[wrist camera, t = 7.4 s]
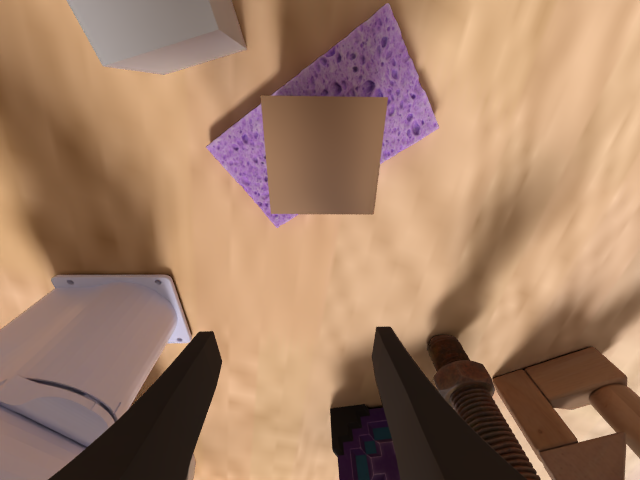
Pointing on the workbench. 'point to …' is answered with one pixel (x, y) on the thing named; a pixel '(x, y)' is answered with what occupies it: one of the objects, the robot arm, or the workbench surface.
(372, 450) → the energy cube
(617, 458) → the wooden block
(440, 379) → the bolt
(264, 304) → the workbench surface
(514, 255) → the workbench surface
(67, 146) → the workbench surface
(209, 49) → the grey block
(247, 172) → the sponges
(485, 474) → the robot arm
